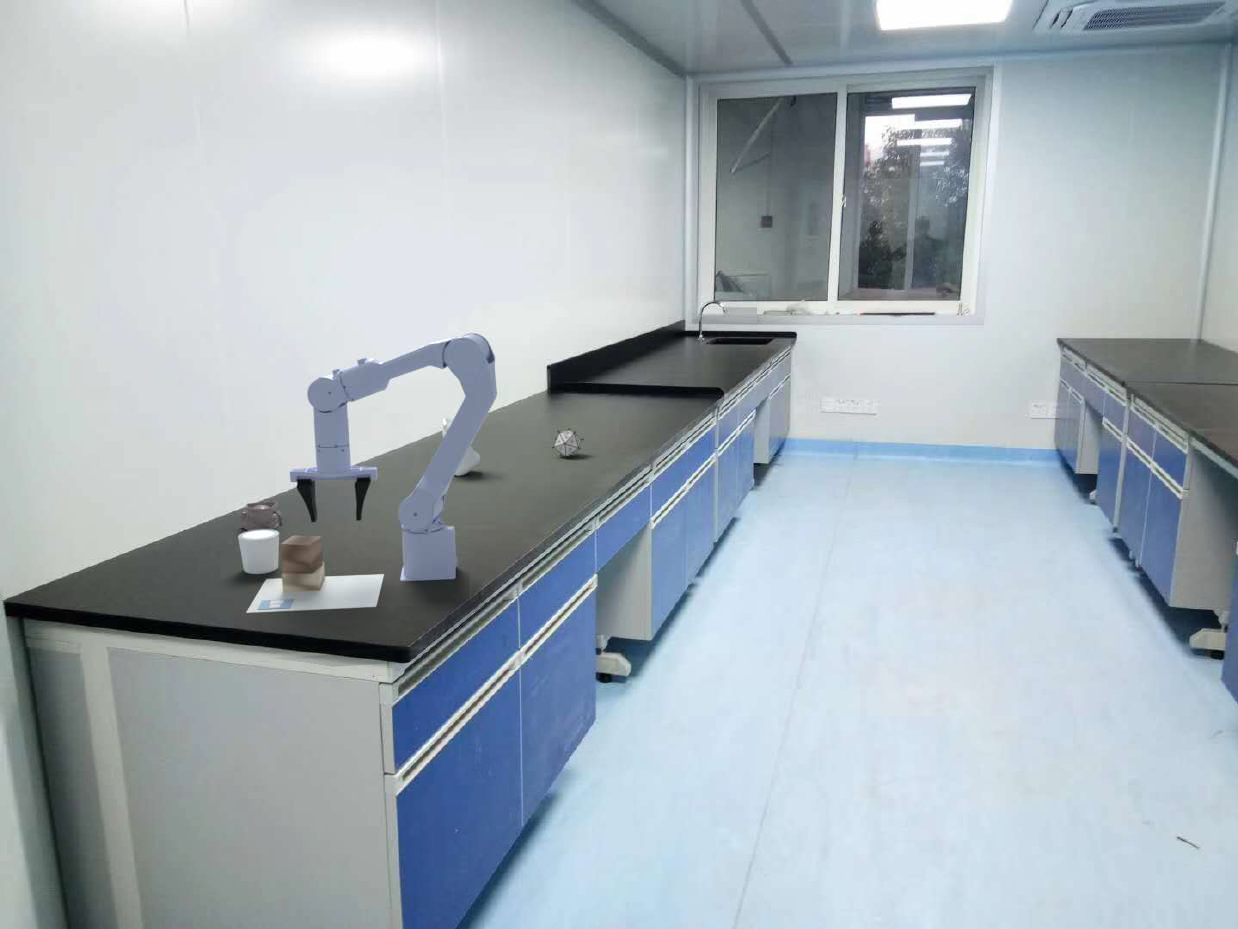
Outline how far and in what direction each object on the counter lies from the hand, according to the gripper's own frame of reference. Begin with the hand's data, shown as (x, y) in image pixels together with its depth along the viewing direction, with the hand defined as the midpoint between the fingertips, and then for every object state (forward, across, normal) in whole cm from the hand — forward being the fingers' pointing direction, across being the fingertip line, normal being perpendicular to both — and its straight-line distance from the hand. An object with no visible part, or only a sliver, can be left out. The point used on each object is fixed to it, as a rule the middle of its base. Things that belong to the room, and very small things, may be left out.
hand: (336, 520), depth 168 cm
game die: (+10, -51, -94) cm, 107 cm away
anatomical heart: (+10, -21, -75) cm, 79 cm away
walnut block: (+6, +5, +7) cm, 11 cm away
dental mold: (+10, +20, -32) cm, 39 cm away
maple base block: (+9, +5, +7) cm, 13 cm away
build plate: (+10, +2, +11) cm, 15 cm away
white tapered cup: (+10, +14, -3) cm, 18 cm away
